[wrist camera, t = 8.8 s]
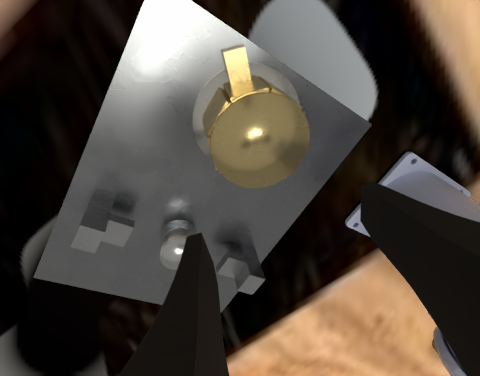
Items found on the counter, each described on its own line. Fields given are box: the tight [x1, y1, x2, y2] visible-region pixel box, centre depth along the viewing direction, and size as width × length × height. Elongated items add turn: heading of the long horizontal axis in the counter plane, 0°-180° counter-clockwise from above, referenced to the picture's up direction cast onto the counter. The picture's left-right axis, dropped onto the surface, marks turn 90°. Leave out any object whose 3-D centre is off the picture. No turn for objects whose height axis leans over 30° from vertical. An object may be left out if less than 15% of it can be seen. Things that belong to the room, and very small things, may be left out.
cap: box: [202, 45, 310, 188], centre depth 18 cm, size 9×6×4 cm, turn 12°
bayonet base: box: [34, 0, 372, 312], centre depth 21 cm, size 16×22×4 cm
